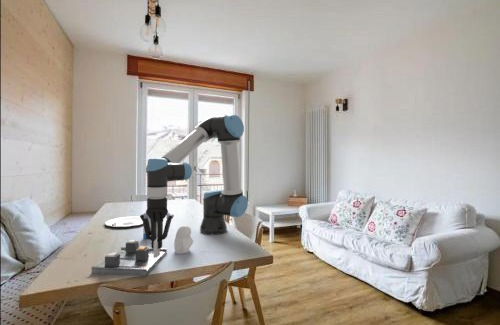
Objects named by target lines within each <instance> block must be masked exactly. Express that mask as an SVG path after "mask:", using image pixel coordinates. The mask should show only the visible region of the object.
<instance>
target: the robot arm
mask: <svg viewBox="0 0 500 325" xmlns="http://www.w3.org/2000/svg"><path fill="white" fill-rule="evenodd" d="M244 130H245V125H244V122H243V120H242V119H241V117H240V116H238V115H237V114H223V115H213V116H210V117H208V118H206V119H204V120H203V121H201V122H200V123H199V124H197V125H196V126H195V127H194V128H193V131H192V132H190V134H188V135H187V136H185V137H184V139H182V140H181V141H179V142H178V143H177V144H176V145H175V146H173V148H171V149H170V150H168V152H166V153H165V154H164V155H163V156H161V157H160V158H159V157H157V158H156V157H153V158H152V157H151V158H149V159H148V160H147V164H146V166H145V173H146V180H147V181H146V185H147V188H146V189H147V190H146V197H147V198H146V210H145V212H144V213H142V214H141V215H139V216H140V218H141V219H142V221H143V227H144V230H145V234H146V238H147V239H146V240H150V241H151V242H150V244H151V245H150V248H152V249H154V257H153V258H158V257H159V256H160V249H161V248H163V240H165V239H167V238H168V234H169V230H170V227H171V222H172V220H173V218H174V216H175V215H174V214H171V213H170V212H169V211H168V198H167V196H168V183H169V182H177V181H187V180H189V179H190V178H191V177H192V174H193V170H192V169H193V168H192V166H191V165H190V164H189V163H187V162H183V161H184V160H185V159H186V158H188V156H189V155H191V153H193V152H195V150H196V149H197V148H199V147H200V146H201V145H202V144H203V143H207V142H208V141H210V140H212V139H215V138H217V143H218V144H220V151H221V166H222V167H221V170H222V181H223V182H222V183H223V189H219V190H216V189H215V190H208V191H205V192H204V194H203V200H202V201H203V204H202V205H203V207H202V208H203V209H202V210H203V215H202V216H203V218H202V221H201V224H200V227H199V231H200V233H201V234H204V235H212V236H213V235H222V234H224V232H225V233H226V232H227V231H228V226H227V223H226V221H225V220H226V219H225V216H227V217H232V218H241V217H243V216H244V214H245V213H246V211H247V209H248V206H249V205H248V204H249V200H248V198H247V196H245V195H244V192H243V189H241V188H240V170H239V169H240V168H239V152H238V150H239V149H238V143H239V142H240V140H241V139H240V138H241V137H242V136H243V134H244ZM148 217H149V218H150V220H151V230H150V225H149V221H148ZM165 218H166V220H165V225H164V226H163V224H164V219H165ZM156 223H157V224H158V230H157V237H156Z"/></svg>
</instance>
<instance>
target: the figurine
mask: <svg viewBox="0 0 500 325" xmlns="http://www.w3.org/2000/svg"><path fill="white" fill-rule="evenodd" d="M191 234H192V230H191V227H190V226H189V225H187V224H183V225H180V226H179V227H178V228H177V230H176V233H175V238H174V243H173V244H174V246H173V247H174V248H173V249H174V252H175V254H180V255H181V254H182V255H183V254H187V253H189V251H190V248H191V247H192V245H193V243H194V239H193V238H192V237H191Z"/></svg>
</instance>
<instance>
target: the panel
mask: <svg viewBox="0 0 500 325" xmlns="http://www.w3.org/2000/svg"><path fill="white" fill-rule="evenodd" d="M148 248H149V258H148V259H147V260H146V261H143V260H136V252H135V253H126V246H122V247H120V250H118V251H117V252H116V253H118V254H120V265H119V266H117V267H105V260H103V261H102V262H100V263H99V264H97V265H96V266H95V265H94V266H92V267H91V274H96V275H113V276H114V275H118V276H119V275H120V276H141V277H142V276H143V277H144V276H145V277H146V276H147V275H149V273H150V272H151V271H152V270H153V269H154V268H155V267H156V266H157V265H158V264H159V262H161V261H162V259H163V258H164V257H165V256H166V255H167V252H168V249H167V248H163V247H162V248H161V249H160V256H159V257H158V258H153V257H154V249H152V248H151V247H148Z"/></svg>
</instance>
